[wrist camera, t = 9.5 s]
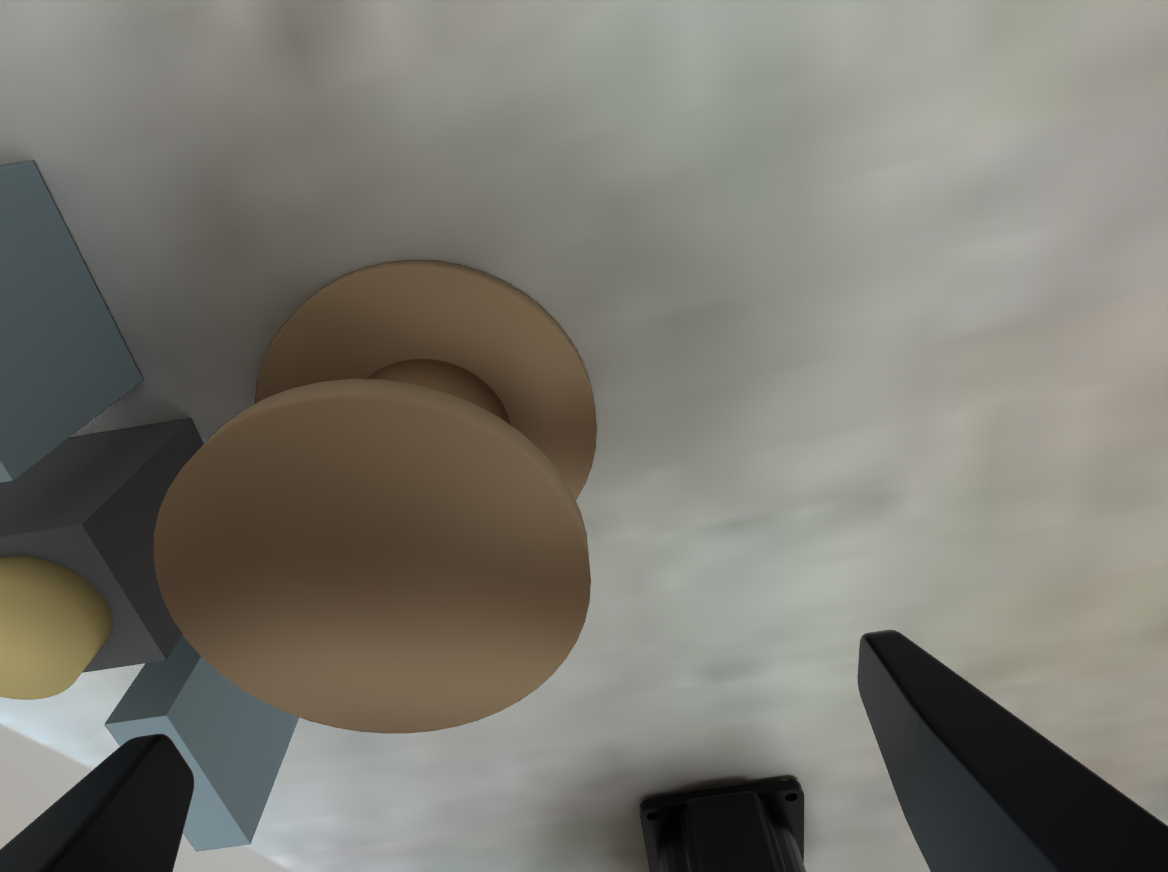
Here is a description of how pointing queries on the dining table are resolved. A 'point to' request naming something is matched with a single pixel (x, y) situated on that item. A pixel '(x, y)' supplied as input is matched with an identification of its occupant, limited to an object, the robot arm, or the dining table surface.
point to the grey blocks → (50, 416)
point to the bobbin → (392, 507)
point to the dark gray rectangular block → (86, 558)
